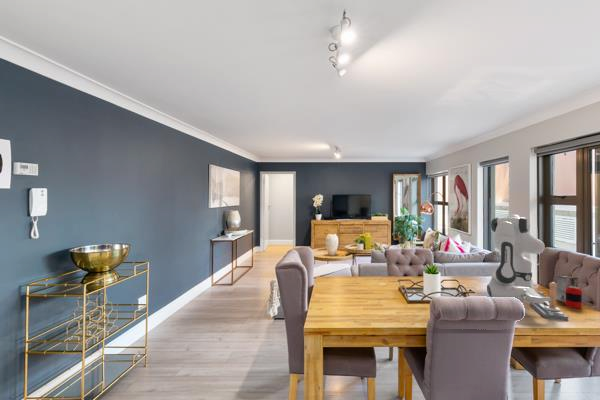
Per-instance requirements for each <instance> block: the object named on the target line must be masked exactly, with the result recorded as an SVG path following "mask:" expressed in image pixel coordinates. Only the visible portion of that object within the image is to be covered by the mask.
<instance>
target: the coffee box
mask: <svg viewBox="0 0 600 400" xmlns="http://www.w3.org/2000/svg"><path fill="white" fill-rule="evenodd" d="M556 277H557V279H556V284H557V288H556V301H560V302H563V303H565V302H566V288H567V287H568V286H574V287H578V283H579V282H578V277H576V276H570V275H557V276H556Z"/></svg>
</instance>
